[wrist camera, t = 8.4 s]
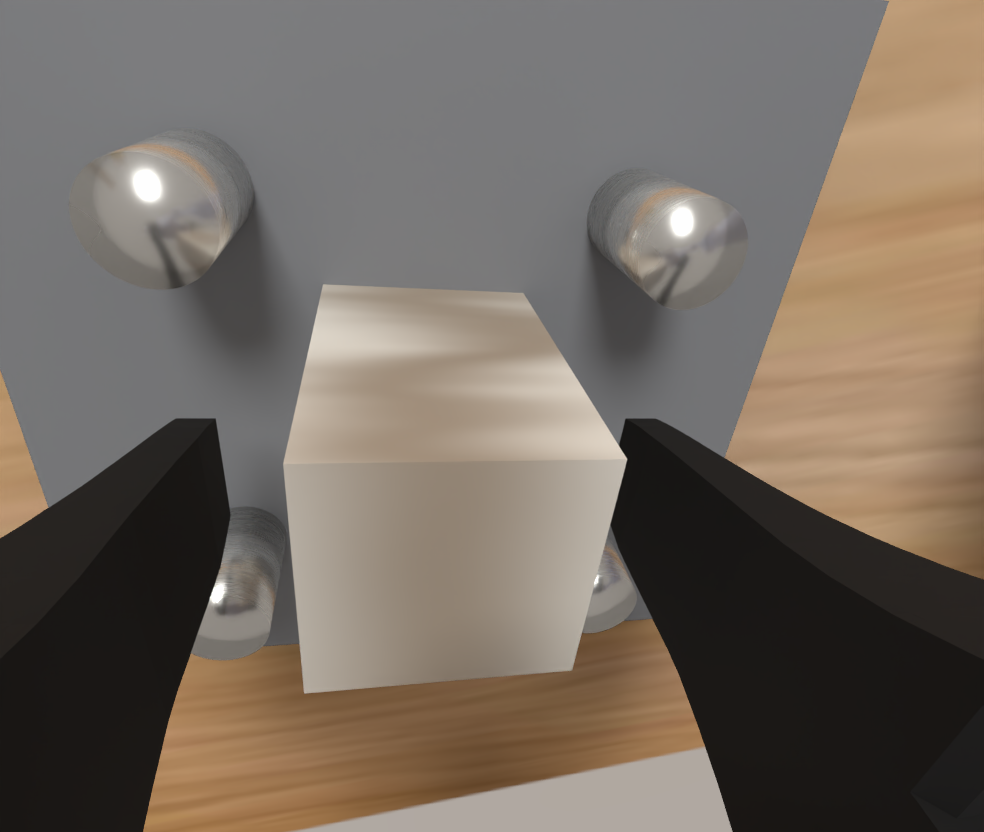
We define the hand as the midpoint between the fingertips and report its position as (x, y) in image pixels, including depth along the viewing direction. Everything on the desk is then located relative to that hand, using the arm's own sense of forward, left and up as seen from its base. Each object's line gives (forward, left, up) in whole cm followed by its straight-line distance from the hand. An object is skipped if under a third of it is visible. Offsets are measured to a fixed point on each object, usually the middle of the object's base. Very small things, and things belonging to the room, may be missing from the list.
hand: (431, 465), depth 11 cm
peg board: (0, 0, -4) cm, 4 cm away
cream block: (0, 0, -3) cm, 3 cm away
